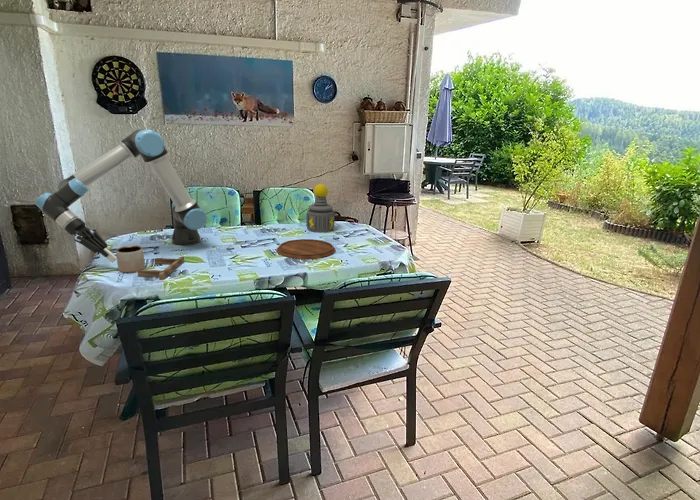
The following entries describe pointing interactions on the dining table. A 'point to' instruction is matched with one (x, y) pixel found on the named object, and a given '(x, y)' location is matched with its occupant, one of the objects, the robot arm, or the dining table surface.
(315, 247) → the cutting board
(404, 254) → the dining table surface
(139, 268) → the planter
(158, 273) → the walnut frame
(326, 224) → the decorative lamp
